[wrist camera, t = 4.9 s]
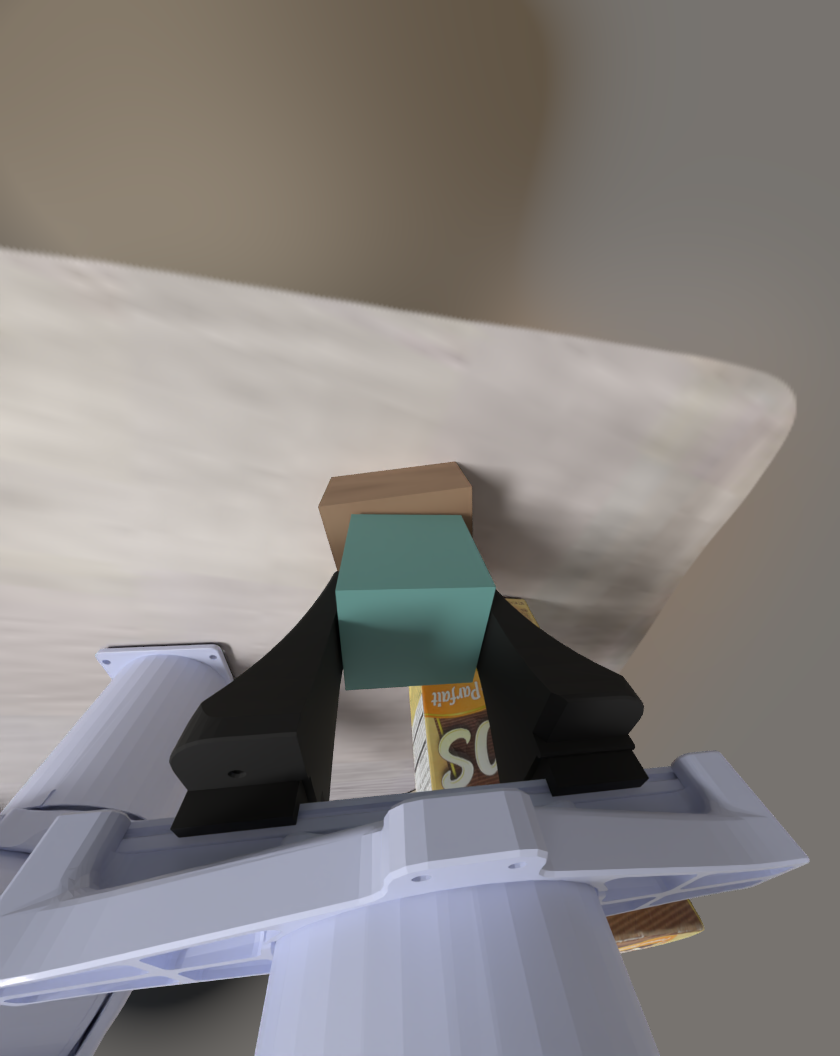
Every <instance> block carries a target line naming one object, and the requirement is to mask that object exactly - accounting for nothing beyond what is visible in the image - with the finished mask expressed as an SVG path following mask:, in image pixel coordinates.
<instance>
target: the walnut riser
mask: <svg viewBox="0 0 840 1056" xmlns="http://www.w3.org/2000/svg"><path fill="white" fill-rule="evenodd" d="M318 508H319V511H320V515H321V518H322V521H323V525H324V528H325V531H326V534H327V538H328V541H329V544H330V548H331V551H332V554H333V557H334V561H335V564H336V567H337V571H340V566H341V561H342V556H343V552H344V547H345V542H346V537H347V533H348V528H349V523H350V518H351V514H389V515H461V516H462V518H463V520H464V522H465V524H466V526H467V528H468V530H469V532H470V535H471V537H472V486H471V484H470V483H469V481H468V480H467V478H466V477H465V475H464V474H463V472H462V471H461V469H460V468H459V466H458V465H457V463H456V462H448V463H440V464H432V465H425V466H417V467H409V468H401V469H393V470H385V471H378V472H370V473H362V474H354V475H346V476H338V477H331V479H330V481H329V484H328V486H327V488H326V490H325V493H324V495H323V497H322V499H321V502H320V504H319V506H318Z"/></svg>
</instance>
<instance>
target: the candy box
mask: <svg viewBox="0 0 840 1056" xmlns="http://www.w3.org/2000/svg"><path fill="white" fill-rule="evenodd" d="M505 599H506V600H507V601H508V602H509V603H510V604H511V605H512V606H513V607H514V608H516V609H517V610H518V611H519V612H520V613H521V614H522V615H524V616H525V617H526V618H527V619H528V620H530V621H531V622H532V623H534V624H535V625H536V626H537V627H539V626H538V624H537V622H536V620H535V618H534V616H533V615H532V613H531V611H530V609H529V607H528V605H527V604H526V602H525V601H524V600H523V599H508V598H505ZM539 628H540V627H539ZM409 696H410V709H411V723H412V740H413V755H414V769H415V786H416V792H422V791H432V790H442V789H452V788H461V787H471V786H481V785H491V784H500V781H499V775H498V769H497V763H496V757H495V752H494V746H493V741H492V735H491V730H490V725H489V720H488V715H487V710H486V705H485V701H484V696H483V692H482V687H481V683H480V678H479V675H478V671H477V668H476V670H475V674H474V678H473V682H471V683H455V684H439V685H423V686H409ZM606 918H607V921H608V924H609V926H610V929H611V931H612V934H613V936H614V939H615V941H616V944H617V947H618V949H619V952H620V953H624V952H629V951H634V950H639V949H644V948H649V947H653V946H657V945H662V944H665V943H669V942H673V941H677V940H680V939H684V938H687V937H690V936H692V935H695V934H698V933H700V932H702V931H704V925H703V923H702V921H701V919H700V917H699V915H698V914H697V912H696V910H695V909H694V907H693V905H692V903H691V902H690V900H689V899H686V900H681V901H676V902H672V903H667V904H662V905H658V906H653V907H649V908H644V909H639V910H635V911H630V912H625V913H621V914H616V915H612V916H607V917H606Z"/></svg>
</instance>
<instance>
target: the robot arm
mask: <svg viewBox="0 0 840 1056" xmlns="http://www.w3.org/2000/svg"><path fill="white" fill-rule="evenodd" d="M338 575H339V571H336V572H335V573H334V574H333V576H332V578H331V580H330V581H329V583H328V584H327V586H326V587H325V589H324V590H323V592H322V593H321V595H320V596H319V597H318V599H317V600H316V602H315V603H314V604H313V606H312V607H311V608H310V609H309V611H308V612H307V613H306V614H305V615H304V617H303V618H302V619H301V620H300V621H299V622H298V624H297V625H296V626H295V627H294V628H293V629H292V630H291V631H290V632H289V633H288V634H287V635H286V636H285V637H284V638H283V639H282V640H281V641H280V642H279V643H278V644H277V645H276V646H275V647H274V648H273V649H272V650H271V651H270V652H268V653H267V654H266V655H265V656H264V657H263V658H262V659H260V660H259V661H258V662H257V663H255V664H254V665H253V666H252V667H250V668H249V669H248V670H247V671H245V672H244V673H243V674H242V675H240V676H239V677H238V678H236V679H235V680H234V679H233V677H232V674H231V672H230V669H229V667H228V664H227V662H226V659H225V657H224V655H223V652H222V650H221V648H220V647H219V646H218V645H215V644H206V645H180V646H155V647H129V648H105V649H101V650H99V651H98V652H97V653H96V655H95V656H96V659H97V660H98V661H99V663H100V664H101V665H102V667H103V668H104V669H105V671H106V672H107V673H108V675H109V676H110V677H111V679H112V681H111V682H110V683H109V685H108V686H107V687H106V688H105V689H104V691H103V692H102V693H101V694H100V695H99V697H98V698H97V699H96V700H95V701H94V702H93V704H92V705H91V706H90V707H89V708H88V710H87V711H86V712H85V713H84V714H83V716H82V717H81V718H80V719H79V720H78V721H77V723H76V724H75V725H74V726H73V727H72V729H71V730H70V731H69V732H68V733H67V735H66V736H65V737H64V738H63V739H62V740H61V742H60V743H59V744H58V745H57V746H56V748H55V749H54V750H53V751H52V752H51V754H50V755H49V756H48V757H47V758H46V759H45V761H44V762H43V763H42V764H41V765H40V767H39V768H38V769H37V770H36V771H35V773H34V774H33V775H32V776H31V777H30V778H29V780H28V781H27V782H26V783H25V784H24V786H23V787H22V788H21V789H20V790H19V792H18V793H17V794H16V795H15V796H14V798H13V799H12V800H11V801H10V802H9V803H8V805H7V806H6V807H5V808H4V809H3V811H2V812H1V813H0V1056H93V1054H94V1053H95V1051H96V1049H97V1047H98V1045H99V1044H100V1042H101V1040H102V1038H103V1037H104V1035H105V1033H106V1032H107V1030H108V1029H109V1027H110V1026H111V1024H112V1023H113V1021H114V1020H115V1018H116V1017H117V1015H118V1014H119V1012H120V1010H121V1009H122V1007H123V1006H124V1004H125V1002H126V1000H127V998H128V997H129V995H130V993H131V992H132V990H135V989H143V988H152V987H160V986H169V985H178V984H186V983H195V982H203V981H212V980H221V979H229V978H238V977H246V976H254V975H264V974H270V975H269V981H268V986H267V991H266V997H265V1003H264V1007H263V1013H262V1018H261V1024H260V1029H259V1034H258V1040H257V1045H256V1050H255V1056H660V1054H659V1051H658V1049H657V1046H656V1044H655V1041H654V1039H653V1036H652V1033H651V1031H650V1029H649V1026H648V1024H647V1021H646V1018H645V1016H644V1013H643V1010H642V1008H641V1005H640V1003H639V1000H638V998H637V995H636V993H635V990H634V987H633V985H632V982H631V980H630V977H629V975H628V972H627V970H626V967H625V965H624V962H623V959H622V957H621V954H620V952H619V949H618V947H617V944H616V941H615V939H614V936H613V934H612V931H611V929H610V926H609V924H608V921H607V918H606V917H607V916H612V915H616V914H621V913H625V912H630V911H635V910H639V909H644V908H649V907H653V906H658V905H662V904H667V903H672V902H676V901H681V900H686V899H691V898H695V897H700V896H705V895H711V894H717V893H722V892H728V891H733V890H739V889H745V888H750V887H753V886H755V885H758V884H760V883H762V882H765V881H767V880H769V879H772V878H774V877H777V876H778V875H781V874H783V873H786V872H788V871H791V870H793V869H795V868H797V867H800V866H802V865H805V864H807V863H809V857H808V856H807V855H806V854H805V853H804V851H803V850H802V849H801V848H800V847H799V845H798V844H797V843H796V842H795V841H794V840H793V838H792V837H791V836H790V835H789V834H788V833H787V831H786V830H785V829H784V828H783V826H782V825H781V824H780V823H779V822H778V821H777V819H776V818H775V817H774V816H773V815H772V813H771V812H770V811H769V810H768V809H767V808H766V806H765V805H764V804H763V803H762V802H761V801H760V799H759V798H758V797H757V796H756V794H755V793H754V792H753V791H752V790H751V788H750V787H749V786H748V785H747V784H746V783H745V781H744V780H743V779H742V778H741V777H740V775H739V774H738V773H737V772H736V771H735V770H734V769H733V767H732V766H731V765H730V764H729V762H728V761H727V760H726V759H725V758H724V757H723V755H722V754H721V753H720V752H719V751H716V750H713V751H702V752H692V753H687V754H683V755H681V756H679V757H678V758H676V759H675V760H674V761H673V762H672V764H671V766H668V767H658V768H649V769H643V767H642V766H641V764H640V763H639V761H638V759H637V758H636V756H635V755H634V753H633V751H632V750H634V748H635V744H634V743H633V741H632V740H631V738H630V737H629V735H628V734H629V732H630V731H631V730H632V729H633V727H634V726H635V725H636V723H637V722H638V721H639V720H640V718H641V716H642V715H643V709H644V705H643V703H642V701H641V700H640V698H639V697H638V696H637V695H636V693H635V692H634V690H633V689H632V688H631V686H630V685H629V684H628V682H627V681H626V680H625V678H624V677H623V676H621V675H619V674H617V673H615V672H613V671H611V670H609V669H607V668H605V667H603V666H601V665H599V664H597V663H595V662H593V661H591V660H589V659H587V658H586V657H584V656H582V655H580V654H578V653H577V652H575V651H573V650H572V649H570V648H568V647H567V646H565V645H563V644H562V643H560V642H559V641H557V640H556V639H554V638H553V637H551V636H550V635H548V634H547V633H546V632H544V631H543V630H541V629H540V628H539V627H537V626H536V625H535V624H534V623H532V622H531V621H530V620H528V619H527V618H526V617H525V616H524V615H522V614H521V613H520V612H519V611H518V610H517V609H516V608H514V607H513V606H512V605H511V604H510V603H509V602H508V601H507V600H506V599H505V598H504V597H503V596H502V595H501V594H500V593H499V592H498V591H497V590H496V589H495V593H494V597H493V601H492V605H491V609H490V613H489V617H488V621H487V625H486V630H485V634H484V638H483V642H482V646H481V650H480V654H479V658H478V662H477V666H476V668H477V671H478V675H479V678H480V683H481V687H482V692H483V696H484V701H485V705H486V710H487V715H488V720H489V725H490V730H491V735H492V741H493V746H494V752H495V757H496V763H497V769H498V775H499V781H500V784H491V785H481V786H471V787H461V788H452V789H442V790H432V791H422V792H412V793H403V794H393V795H383V796H373V797H363V798H353V799H344V800H334V801H329V796H330V783H331V771H332V760H333V749H334V738H335V728H336V718H337V708H338V699H339V690H340V683H341V676H342V671H343V660H342V651H341V641H340V631H339V622H338V612H337V602H336V593H335V590H336V585H337V580H338Z"/></svg>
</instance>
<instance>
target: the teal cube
mask: <svg viewBox="0 0 840 1056" xmlns="http://www.w3.org/2000/svg"><path fill="white" fill-rule="evenodd" d="M495 589H496V586H495V584H494V582H493V580H492V578H491V576H490V574H489V572H488V570H487V568H486V565H485V563H484V561H483V559H482V557H481V555H480V553H479V551H478V549H477V547H476V545H475V543H474V541H473V539H472V537H471V535H470V532H469V530H468V528H467V526H466V524H465V522H464V520H463V518H462V516H461V515H389V514H351V518H350V523H349V528H348V533H347V537H346V542H345V547H344V552H343V556H342V561H341V566H340V571H339V575H338V580H337V585H336V590H335V593H336V602H337V612H338V622H339V631H340V641H341V651H342V660H343V670H344V680H345V689H346V690H359V689H375V688H391V687H407V686H423V685H439V684H455V683H471V682H473V678H474V674H475V670H476V666H477V662H478V658H479V654H480V650H481V646H482V642H483V638H484V634H485V630H486V625H487V621H488V617H489V613H490V609H491V605H492V601H493V597H494V593H495Z"/></svg>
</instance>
